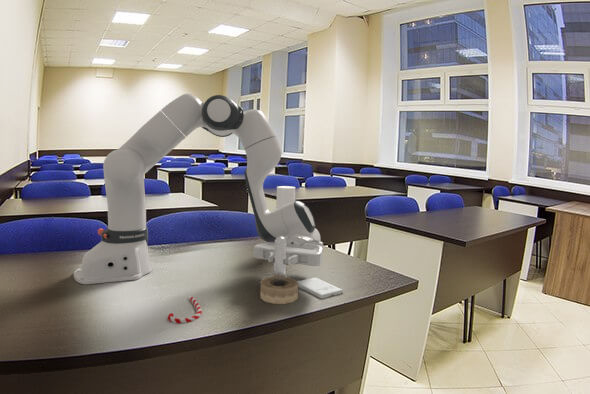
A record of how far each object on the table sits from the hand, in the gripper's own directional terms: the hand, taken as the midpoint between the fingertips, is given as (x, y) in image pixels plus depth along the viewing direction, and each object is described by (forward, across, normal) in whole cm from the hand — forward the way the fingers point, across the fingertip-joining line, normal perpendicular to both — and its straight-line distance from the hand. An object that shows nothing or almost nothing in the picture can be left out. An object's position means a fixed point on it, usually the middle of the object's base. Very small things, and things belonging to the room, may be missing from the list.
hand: (278, 260), depth 114 cm
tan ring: (-1, 0, +10) cm, 11 cm away
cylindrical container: (-47, -16, +11) cm, 51 cm away
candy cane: (+17, -18, +11) cm, 27 cm away
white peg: (-1, 0, +9) cm, 9 cm away
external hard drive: (-11, +8, +11) cm, 18 cm away
